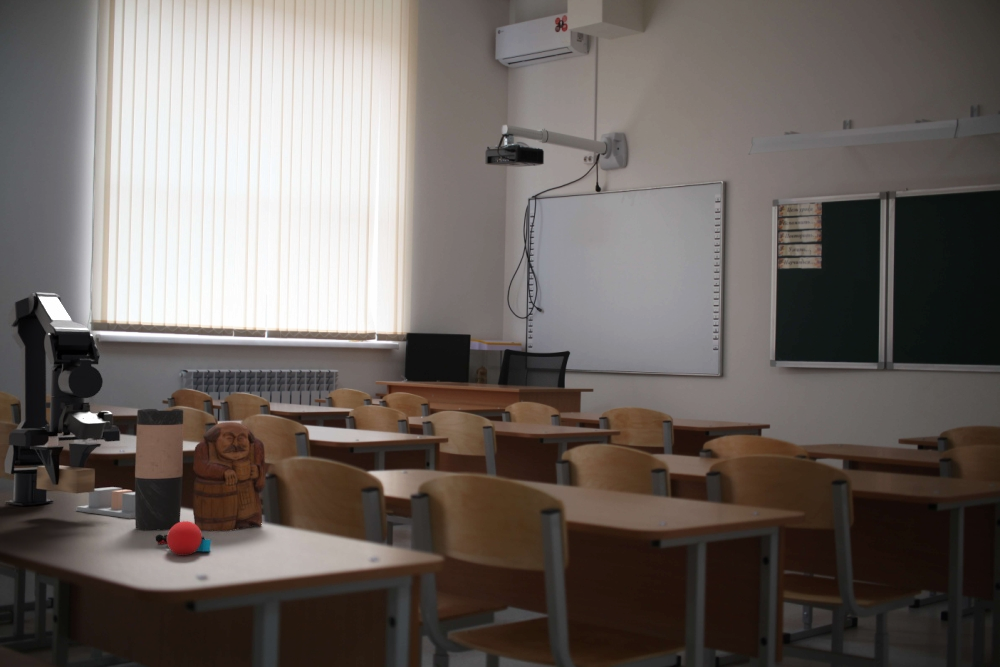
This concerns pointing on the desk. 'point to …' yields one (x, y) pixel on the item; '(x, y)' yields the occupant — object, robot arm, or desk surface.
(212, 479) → the wooden figurine
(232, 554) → the desk surface
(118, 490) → the pale grey flat fixture
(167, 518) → the travel mug
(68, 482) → the walnut bar
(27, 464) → the robot arm
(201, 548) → the toy figure
